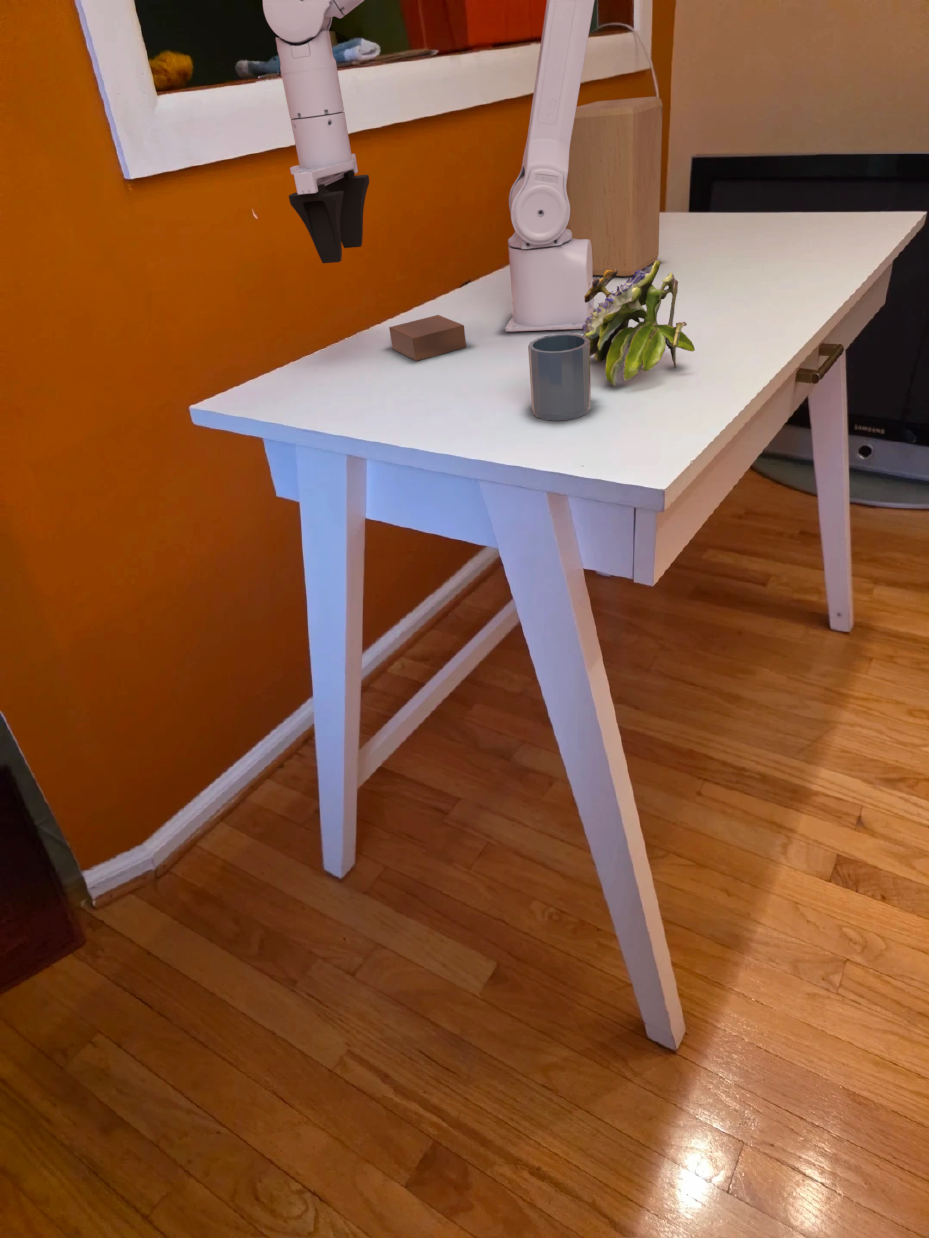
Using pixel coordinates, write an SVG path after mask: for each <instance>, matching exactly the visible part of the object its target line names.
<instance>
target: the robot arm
mask: <svg viewBox="0 0 929 1238" xmlns="http://www.w3.org/2000/svg"><path fill="white" fill-rule="evenodd" d="M364 1H365V0H262V9H263V15H264V17H265V20H266V22H267V24H268V26H269V27H270V29H271V31H273V33H275V34H276V36H275V43H276V50H277V53H278V54H277V55H278V58H279V63H280V65H279V66H280V68H279V69H280V74H281V75H280V76H281V80H282V84H283V89H284V94H285V99H286V105H287V111H288V114H289V119H290V124H291V130H292V133H293V134H292V135H293V139H294V144H295V148H296V154H297V159H298V163H299V164H297V165H293V166H291V167H290V168H289V171H290V175H291V176H293V179H294V184H295V189H296V192H293V193H291V194H289V195H288V200H289V204H290V206H291V207H292V208H293V210H294V211H295V212H296V213H297V215H298V216H299V218H300V219H301V221H302V222H303V224H304V226H305V228H306V230H307V232H308V234H309V236H310V239H311V240H312V242H313V245H314V247H315V250H316V252H317V254H318V258H319V260H320V261H321V263H322V264H332V263H340V262H342V259H343V257H342V256H343V249H342V246H343V248H344V249H351V248H361V247H362V246H363V237H364V236H363V235H364V211H365V210H364V208H365V203H366V202H365V200H366V197H367V196H366V195H367V192H368V188H369V185H370V176H369V174H358V173H359V168H358V163H357V157H356V153H352V150H351V143H350V137H349V131H348V126H347V119H346V113H345V108H344V101H343V95H342V89H341V84H340V77H339V72H338V66H337V60H336V59H335V57H334V52H333V46H332V40H331V34H330V28H331V25H332V21H333V17H336V18H338V19H342V18H345V16H346V15H348V14H349V13H350V12H351V11H353V10H354V9H355V8H356V7H358V6H359V5H360V4H361V3H363V2H364ZM595 1H596V0H546V4H545V10H544V11H545V12H544V19H543V26H542V33H541V39H540V47H539V52H538V54H539V55H538V60H537V67H536V75H535V81H534V88H533V95H532V102H531V109H530V115H529V121H528V122H529V124H528V129H527V137H526V141H525V147H524V151H523V156H522V163H521V169H520V172H519V174H518V176H517V178H516V179H515V181H514V183H512V185H511V188H510V191H509V194H508V208H509V212H510V219H511V220H510V221H511V224H512V227H513V229H514V233H513V234H512V235H511V236H510V237H509V238H508V239H507V244H508V245H507V248H508V261H509V274H510V276H509V277H510V288H511V303H512V316H511V318H510V319H509V321H508V322H507V324H506V325H505V327H504V329H505V332H508V333H509V332H511V333H512V332H529V331H530V332H532V331H533V332H534V331H536V332H537V331H559V330H560V331H561V330H582V329H583V328H582V327H583V325H584V324H586V323H585V321H586V319H587V318H588V317H590V316H592V314H591V313H593V312H594V310H595V307H594V306H595V305H594V304H595V297H594V298H593V299H592V300H590V301H589V302H587V303H585V301H584V300H585V298H584V296H585V295H586V294H587V292H588V291H589V289H590V288H591V287H592V282H593V280H594V276H593V272H592V247H591V241H590V240H589V239H573V238H572V232H571V230H569V229H567V224H568V221H569V217H570V203H569V200H568V196H567V192H566V183H567V176H568V168H569V148H570V141H571V136H572V130H573V124H574V118H575V112H576V107H578V106H577V105H578V99H579V94H580V88H581V82H582V77H583V71H584V64H585V59H586V53H587V47H588V41H589V35H590V29H591V24H592V18H593V12H594V5H595ZM277 36H278V37H277ZM356 174H358V175H356ZM583 330H584V329H583Z"/></svg>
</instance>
